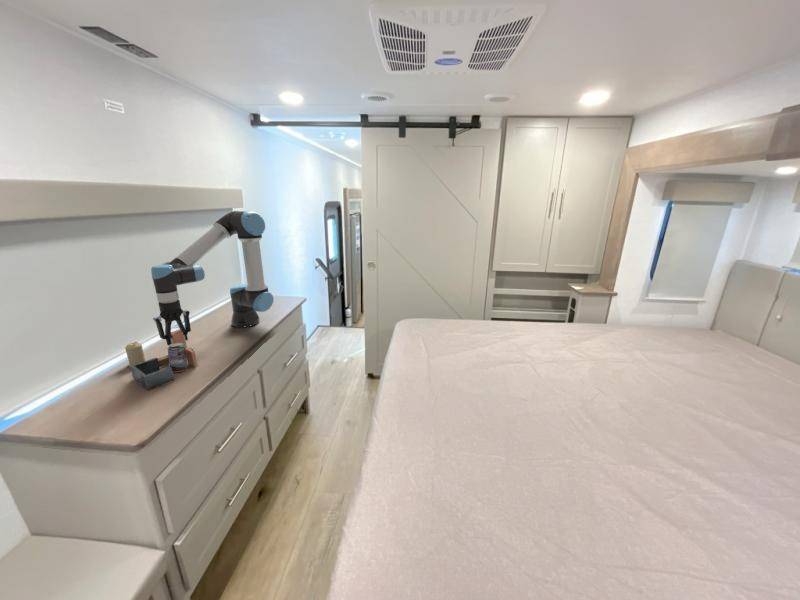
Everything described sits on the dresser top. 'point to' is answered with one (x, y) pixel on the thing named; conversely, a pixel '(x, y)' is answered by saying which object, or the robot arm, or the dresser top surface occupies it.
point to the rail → (164, 360)
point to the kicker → (190, 353)
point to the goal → (151, 374)
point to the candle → (135, 353)
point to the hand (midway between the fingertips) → (179, 349)
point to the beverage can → (177, 357)
